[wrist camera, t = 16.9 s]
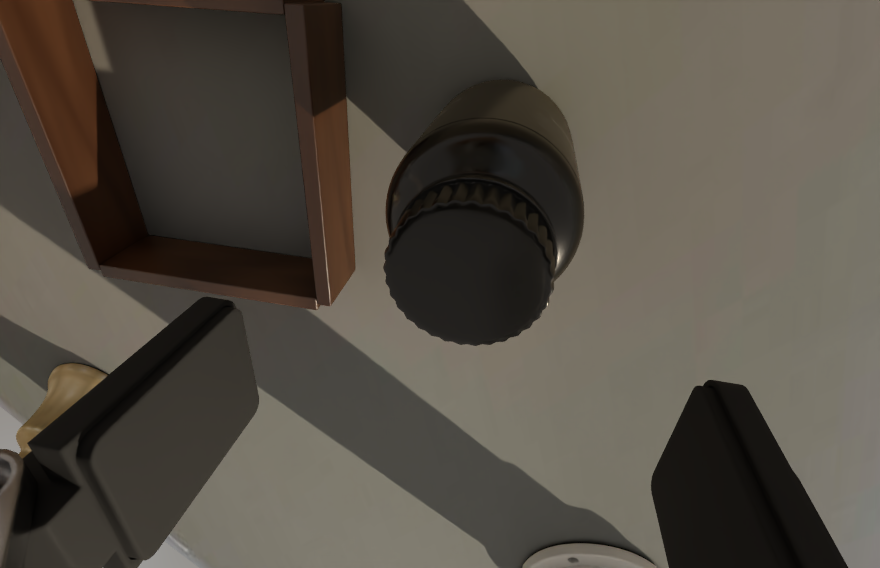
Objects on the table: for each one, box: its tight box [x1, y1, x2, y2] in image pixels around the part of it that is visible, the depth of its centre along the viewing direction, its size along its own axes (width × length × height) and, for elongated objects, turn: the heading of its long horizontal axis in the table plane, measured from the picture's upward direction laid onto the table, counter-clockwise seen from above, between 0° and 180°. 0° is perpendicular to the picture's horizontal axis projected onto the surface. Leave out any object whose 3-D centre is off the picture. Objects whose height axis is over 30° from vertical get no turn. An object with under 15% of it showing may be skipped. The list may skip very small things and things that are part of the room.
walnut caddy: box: [0, 0, 355, 310], centre depth 23 cm, size 15×15×4 cm
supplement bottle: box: [383, 79, 584, 346], centre depth 17 cm, size 7×7×12 cm
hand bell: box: [16, 363, 108, 459], centre depth 33 cm, size 8×8×16 cm
